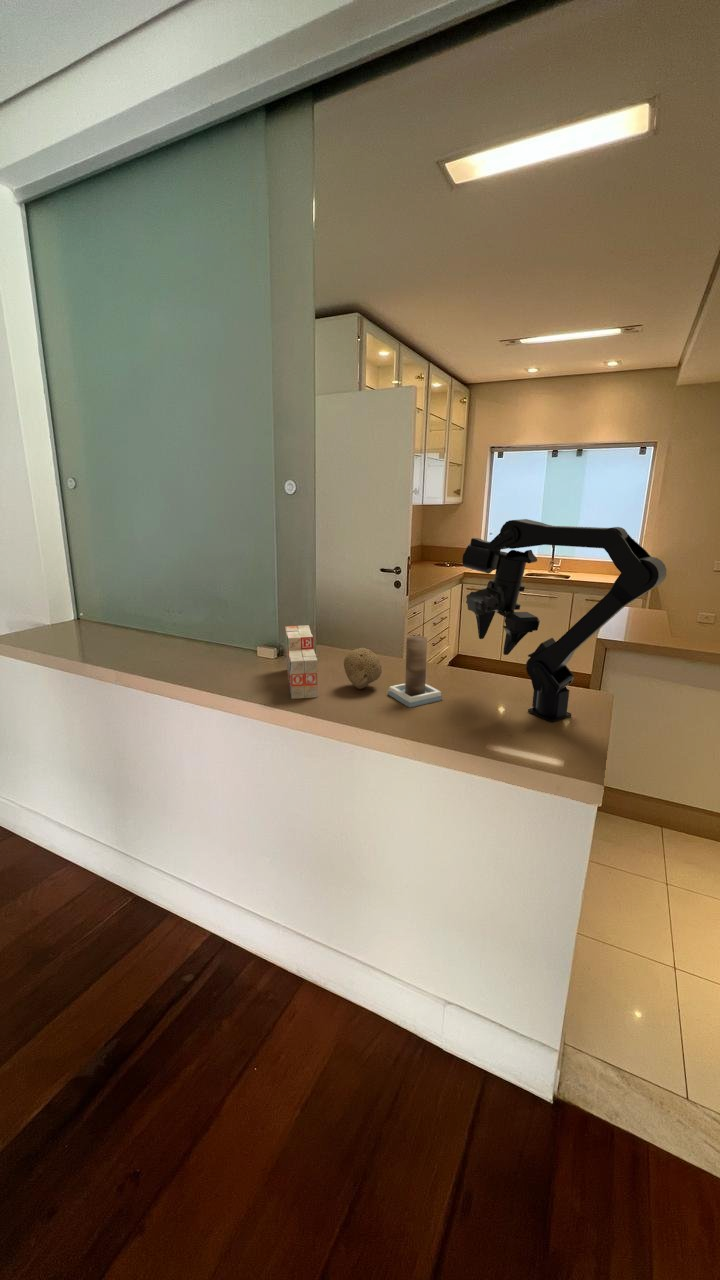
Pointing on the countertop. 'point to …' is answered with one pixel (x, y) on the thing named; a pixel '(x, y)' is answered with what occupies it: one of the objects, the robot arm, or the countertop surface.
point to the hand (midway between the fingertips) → (493, 646)
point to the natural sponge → (362, 667)
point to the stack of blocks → (301, 662)
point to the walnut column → (415, 665)
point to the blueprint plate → (417, 700)
